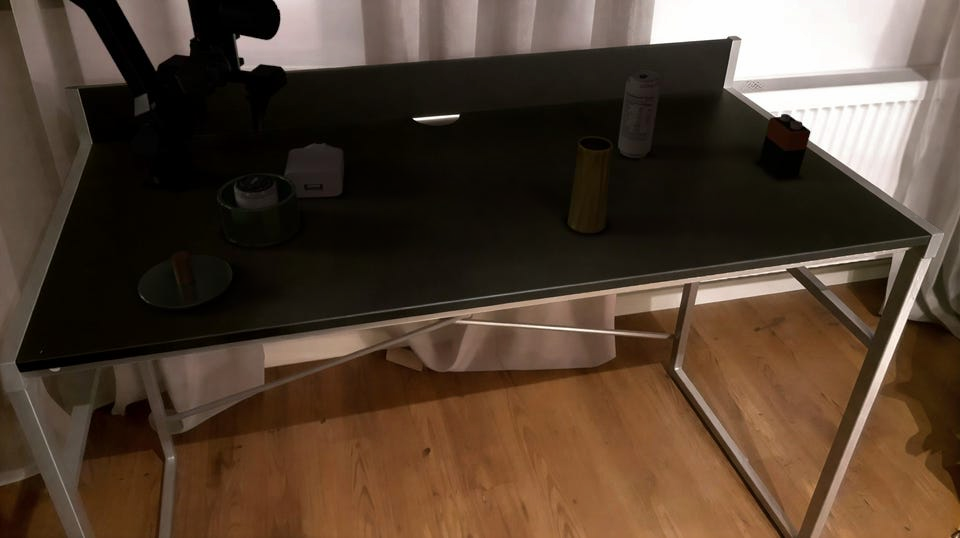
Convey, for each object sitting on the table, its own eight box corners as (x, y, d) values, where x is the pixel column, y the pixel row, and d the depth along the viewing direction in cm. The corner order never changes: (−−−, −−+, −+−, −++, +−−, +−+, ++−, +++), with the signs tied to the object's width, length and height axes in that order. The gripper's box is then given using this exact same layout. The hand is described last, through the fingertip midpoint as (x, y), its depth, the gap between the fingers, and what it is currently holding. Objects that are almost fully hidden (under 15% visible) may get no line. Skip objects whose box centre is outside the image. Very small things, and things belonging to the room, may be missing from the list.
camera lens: (234, 233, 122) (225, 188, 118) (250, 212, 128) (242, 168, 123) (273, 237, 122) (266, 192, 117) (287, 216, 127) (281, 172, 122)
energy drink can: (654, 150, 150) (667, 73, 141) (642, 162, 146) (653, 84, 137) (625, 141, 152) (635, 66, 144) (612, 153, 148) (621, 76, 139)
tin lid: (120, 304, 108) (111, 274, 105) (172, 255, 118) (165, 225, 115) (204, 320, 106) (197, 289, 103) (249, 268, 116) (244, 238, 113)
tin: (210, 241, 121) (202, 204, 118) (246, 204, 131) (240, 168, 127) (280, 252, 119) (274, 215, 115) (312, 214, 128) (308, 178, 125)
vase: (580, 237, 124) (589, 155, 116) (559, 219, 129) (567, 138, 120) (613, 228, 127) (624, 147, 118) (591, 210, 131) (600, 131, 123)
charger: (346, 155, 146) (342, 196, 133) (294, 156, 145) (286, 198, 133) (344, 131, 143) (340, 171, 131) (291, 132, 142) (283, 172, 130)
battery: (777, 180, 141) (791, 128, 135) (757, 162, 146) (769, 112, 140) (799, 177, 142) (813, 126, 136) (778, 160, 147) (791, 110, 141)
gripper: (123, 40, 111) (148, 142, 120) (245, 53, 107) (261, 157, 116) (167, 16, 120) (187, 112, 129) (282, 28, 116) (294, 126, 125)
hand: (230, 127), depth 124 cm, fingers open, 9 cm apart
